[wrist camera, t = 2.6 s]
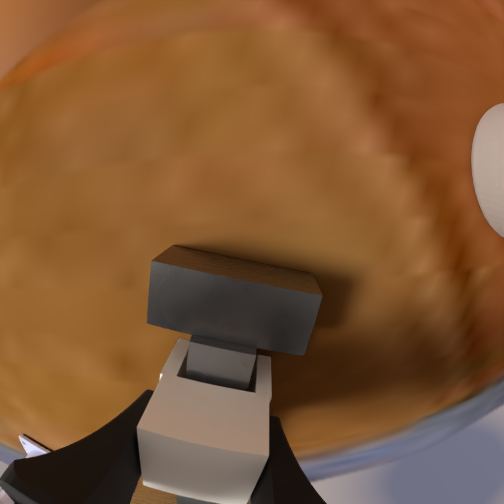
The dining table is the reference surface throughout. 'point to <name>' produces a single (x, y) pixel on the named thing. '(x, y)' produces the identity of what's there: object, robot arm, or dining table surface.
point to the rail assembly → (227, 320)
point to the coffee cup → (490, 166)
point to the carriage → (205, 433)
